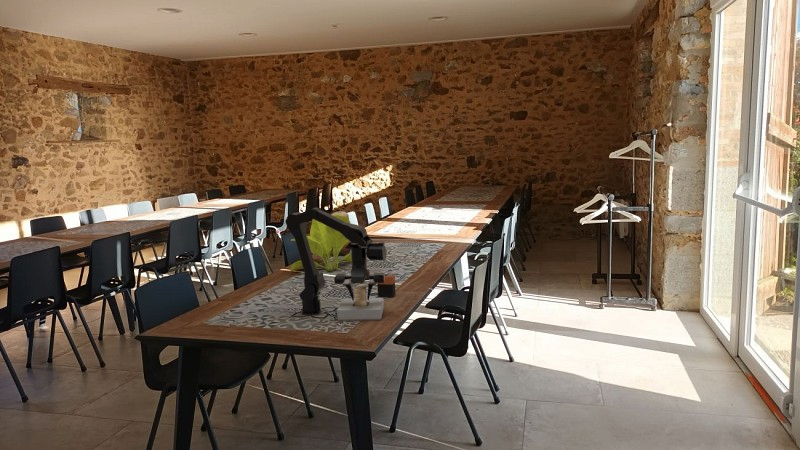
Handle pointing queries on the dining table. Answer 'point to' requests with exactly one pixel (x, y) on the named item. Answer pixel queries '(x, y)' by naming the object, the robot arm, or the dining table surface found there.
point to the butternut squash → (344, 250)
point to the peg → (360, 296)
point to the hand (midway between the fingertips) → (360, 300)
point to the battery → (387, 286)
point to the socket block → (360, 310)
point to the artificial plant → (326, 244)
